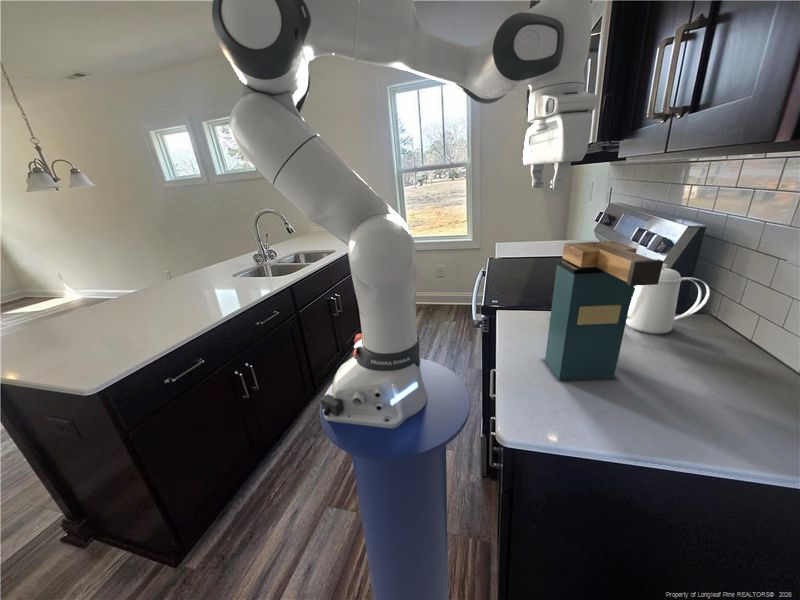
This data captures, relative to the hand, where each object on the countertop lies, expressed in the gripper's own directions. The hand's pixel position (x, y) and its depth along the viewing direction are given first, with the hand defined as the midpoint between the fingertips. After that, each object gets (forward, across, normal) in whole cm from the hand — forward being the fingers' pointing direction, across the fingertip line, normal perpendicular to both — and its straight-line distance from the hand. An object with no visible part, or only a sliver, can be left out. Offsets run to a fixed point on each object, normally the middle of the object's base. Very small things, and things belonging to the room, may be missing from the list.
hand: (546, 189), depth 62 cm
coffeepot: (+41, -18, +40) cm, 60 cm away
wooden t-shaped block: (+15, +8, +11) cm, 20 cm away
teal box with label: (+41, +2, +11) cm, 42 cm away
